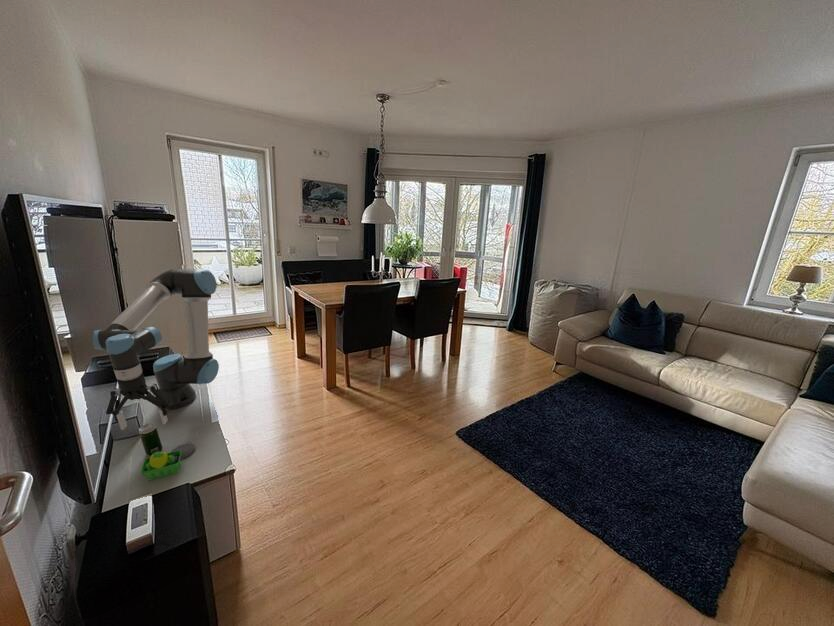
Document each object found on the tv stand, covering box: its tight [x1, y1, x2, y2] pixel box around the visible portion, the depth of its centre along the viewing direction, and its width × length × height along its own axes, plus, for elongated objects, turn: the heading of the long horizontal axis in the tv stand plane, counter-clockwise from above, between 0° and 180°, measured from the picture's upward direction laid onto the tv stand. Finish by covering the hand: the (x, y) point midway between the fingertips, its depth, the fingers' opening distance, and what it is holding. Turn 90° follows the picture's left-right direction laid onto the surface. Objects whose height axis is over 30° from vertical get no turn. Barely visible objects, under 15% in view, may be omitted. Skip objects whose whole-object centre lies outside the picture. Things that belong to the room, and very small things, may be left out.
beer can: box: [138, 422, 163, 457], centre depth 135 cm, size 5×5×12 cm
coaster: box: [171, 442, 196, 461], centre depth 137 cm, size 8×8×1 cm
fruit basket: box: [139, 450, 181, 481], centre depth 126 cm, size 11×9×11 cm
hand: (145, 425), depth 133 cm, fingers open, 13 cm apart
